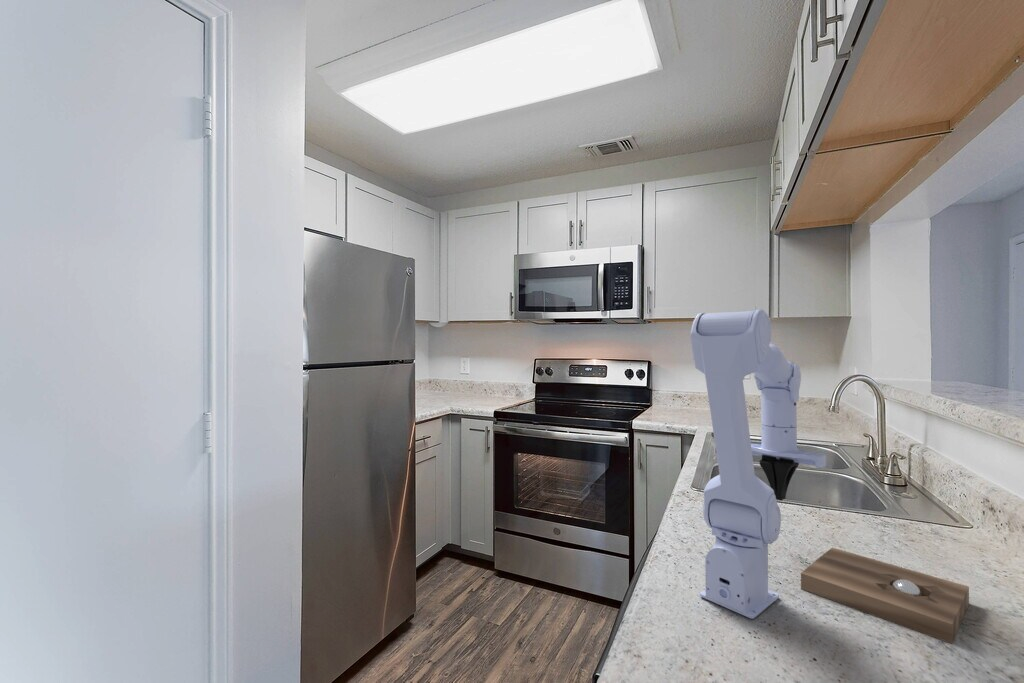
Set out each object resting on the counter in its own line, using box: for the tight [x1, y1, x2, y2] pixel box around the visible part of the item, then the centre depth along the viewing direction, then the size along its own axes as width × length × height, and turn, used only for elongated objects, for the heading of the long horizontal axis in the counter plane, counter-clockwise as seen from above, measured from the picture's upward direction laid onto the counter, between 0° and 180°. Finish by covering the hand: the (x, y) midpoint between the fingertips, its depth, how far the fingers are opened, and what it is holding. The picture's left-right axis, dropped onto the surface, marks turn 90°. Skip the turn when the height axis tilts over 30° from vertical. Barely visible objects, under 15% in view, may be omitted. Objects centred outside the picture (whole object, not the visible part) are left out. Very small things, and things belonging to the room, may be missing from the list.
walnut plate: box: [800, 547, 970, 645], centre depth 71 cm, size 15×18×2 cm
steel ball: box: [892, 579, 922, 596], centre depth 68 cm, size 4×4×4 cm
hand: (779, 498), depth 85 cm, fingers closed
